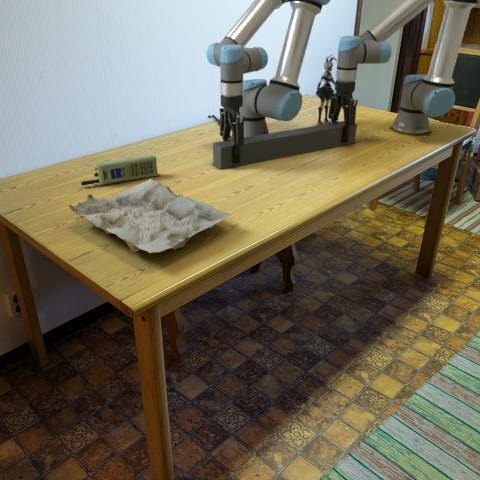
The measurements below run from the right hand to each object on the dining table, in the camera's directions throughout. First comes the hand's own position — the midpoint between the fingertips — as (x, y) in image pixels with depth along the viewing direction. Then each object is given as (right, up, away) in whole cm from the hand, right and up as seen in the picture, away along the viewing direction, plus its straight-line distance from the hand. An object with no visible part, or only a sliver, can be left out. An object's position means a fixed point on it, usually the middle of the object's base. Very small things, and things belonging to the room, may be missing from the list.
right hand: (339, 139), depth 202 cm
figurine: (-3, +11, +23) cm, 26 cm away
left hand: (-43, -11, -21) cm, 49 cm away
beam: (-21, -7, -10) cm, 25 cm away
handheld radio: (-79, -21, -36) cm, 89 cm away
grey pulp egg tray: (-64, -36, -63) cm, 97 cm away
